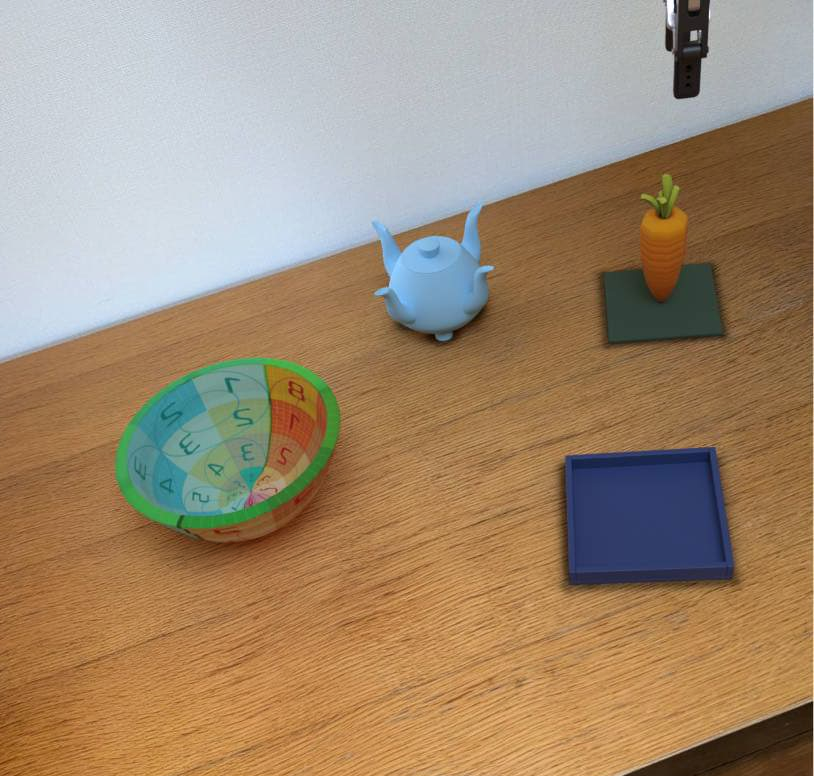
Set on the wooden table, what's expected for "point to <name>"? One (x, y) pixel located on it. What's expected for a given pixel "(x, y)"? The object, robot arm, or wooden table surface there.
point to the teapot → (435, 280)
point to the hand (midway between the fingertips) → (681, 71)
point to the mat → (661, 306)
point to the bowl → (230, 449)
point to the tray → (646, 517)
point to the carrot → (663, 240)
